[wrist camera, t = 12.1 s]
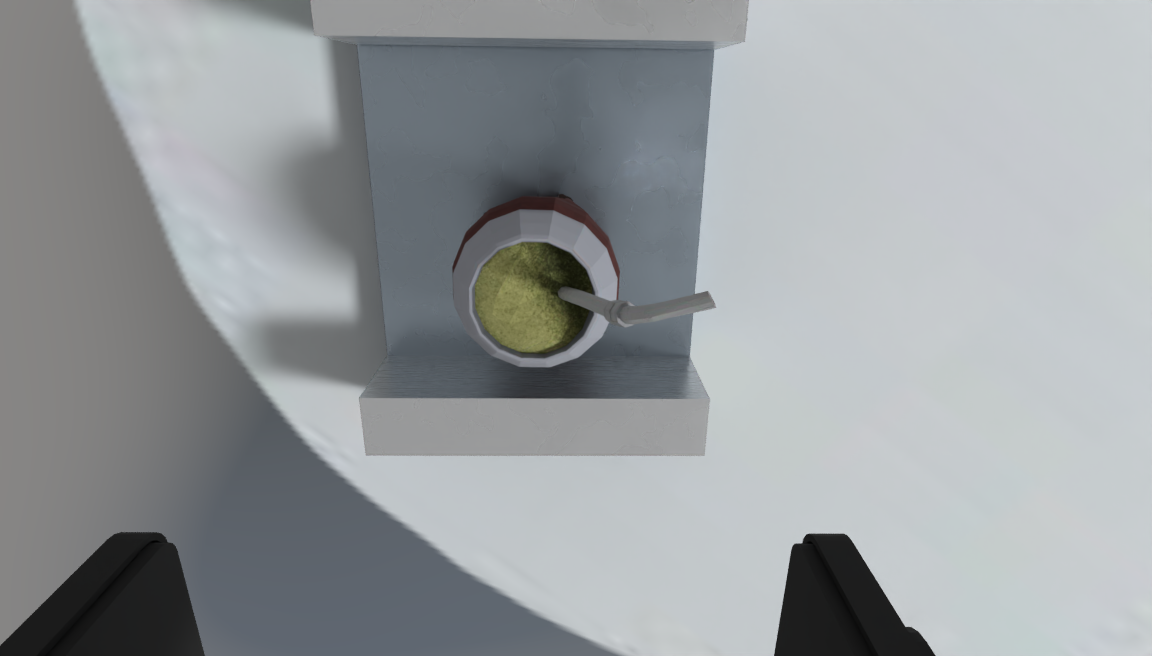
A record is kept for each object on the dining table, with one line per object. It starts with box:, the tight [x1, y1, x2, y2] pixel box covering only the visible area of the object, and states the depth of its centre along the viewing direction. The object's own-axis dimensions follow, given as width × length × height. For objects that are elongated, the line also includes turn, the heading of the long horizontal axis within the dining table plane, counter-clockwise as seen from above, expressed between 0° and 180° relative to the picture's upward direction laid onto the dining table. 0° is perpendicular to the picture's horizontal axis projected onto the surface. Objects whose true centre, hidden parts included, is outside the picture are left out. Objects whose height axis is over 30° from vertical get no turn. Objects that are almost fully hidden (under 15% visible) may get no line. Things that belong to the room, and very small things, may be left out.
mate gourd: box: [452, 194, 716, 367], centre depth 25 cm, size 8×8×15 cm
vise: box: [357, 44, 714, 456], centre depth 29 cm, size 30×16×6 cm, turn 179°
